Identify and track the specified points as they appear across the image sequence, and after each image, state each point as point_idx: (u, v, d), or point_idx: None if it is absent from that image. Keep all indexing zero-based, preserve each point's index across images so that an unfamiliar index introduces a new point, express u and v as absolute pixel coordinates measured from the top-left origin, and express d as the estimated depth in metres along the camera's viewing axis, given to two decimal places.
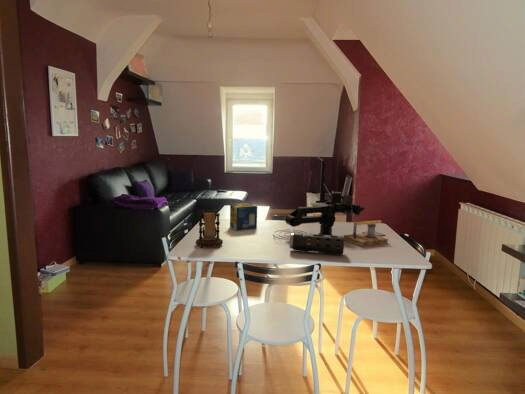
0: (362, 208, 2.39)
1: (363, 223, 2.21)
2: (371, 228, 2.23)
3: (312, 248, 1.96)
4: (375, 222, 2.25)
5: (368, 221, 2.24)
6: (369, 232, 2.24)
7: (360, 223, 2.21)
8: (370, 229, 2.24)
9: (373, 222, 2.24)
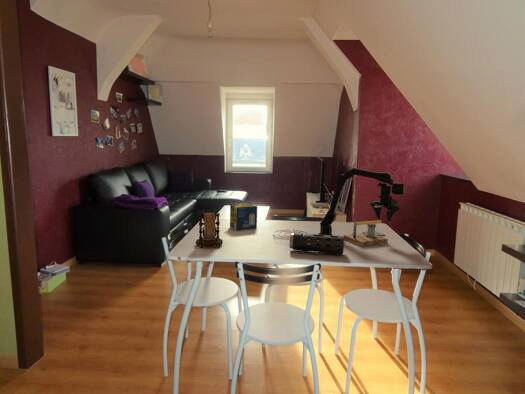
0: (390, 218, 2.16)
1: (363, 223, 2.21)
2: (371, 228, 2.23)
3: (312, 248, 1.96)
4: (375, 222, 2.25)
5: (368, 221, 2.24)
6: (369, 232, 2.24)
7: (360, 223, 2.21)
8: (370, 229, 2.24)
9: (373, 222, 2.24)
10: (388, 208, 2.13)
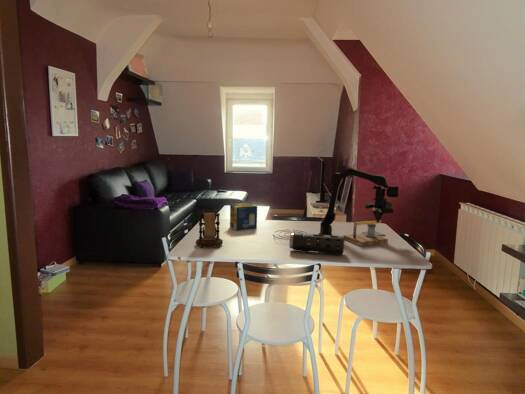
0: (379, 218, 2.24)
1: (363, 223, 2.22)
2: (371, 228, 2.23)
3: (312, 248, 1.96)
4: (375, 222, 2.25)
5: (368, 221, 2.24)
6: (369, 232, 2.24)
7: (360, 223, 2.21)
8: (370, 229, 2.24)
9: (373, 222, 2.25)
10: (382, 210, 2.17)
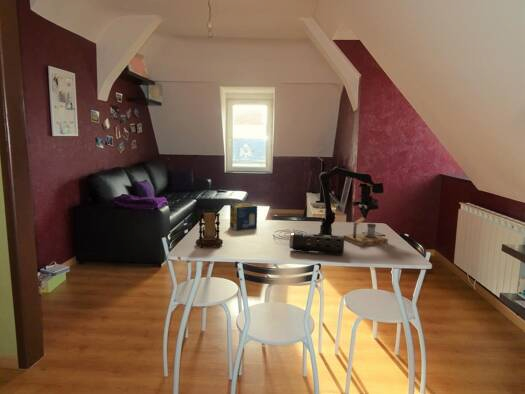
0: (366, 215, 2.32)
1: (359, 222, 2.24)
2: (371, 228, 2.23)
3: (312, 248, 1.96)
4: (362, 219, 2.32)
5: (359, 219, 2.28)
6: (369, 232, 2.24)
7: (358, 222, 2.22)
8: (370, 229, 2.24)
9: (362, 219, 2.31)
10: (368, 207, 2.25)
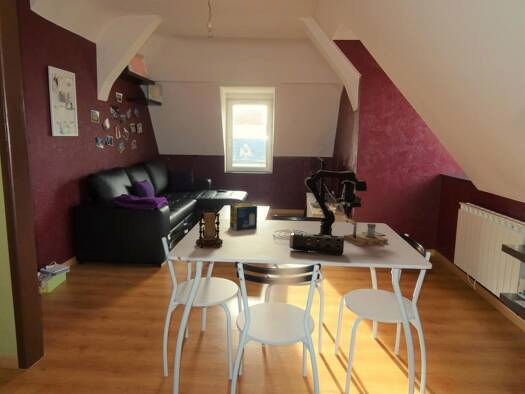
0: (349, 212, 2.35)
1: None
2: (371, 228, 2.23)
3: (312, 248, 1.96)
4: None
5: (349, 219, 2.29)
6: (369, 232, 2.24)
7: None
8: (370, 229, 2.24)
9: None
10: (350, 204, 2.27)
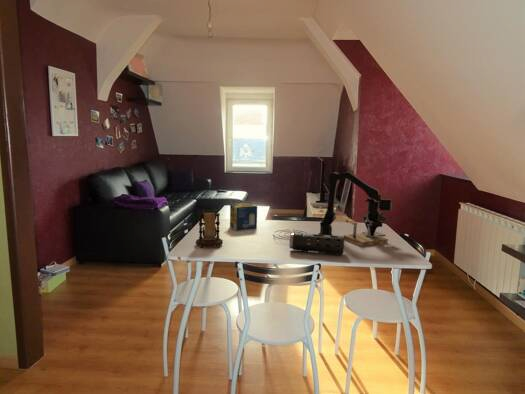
0: (373, 232, 2.23)
1: None
2: None
3: (312, 248, 1.96)
4: None
5: (349, 219, 2.29)
6: (369, 232, 2.24)
7: None
8: None
9: None
10: (370, 223, 2.18)
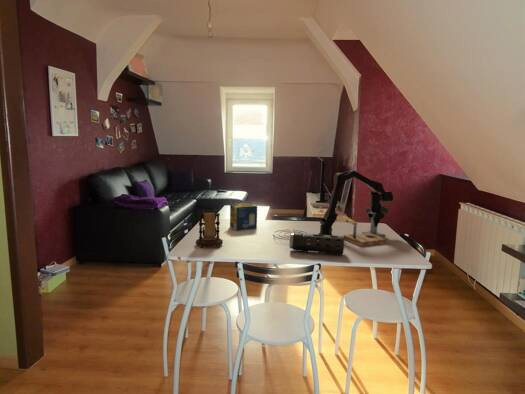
0: (377, 223, 2.36)
1: None
2: None
3: (312, 248, 1.96)
4: None
5: (349, 219, 2.29)
6: (372, 225, 2.40)
7: None
8: (373, 222, 2.39)
9: None
10: (373, 214, 2.33)
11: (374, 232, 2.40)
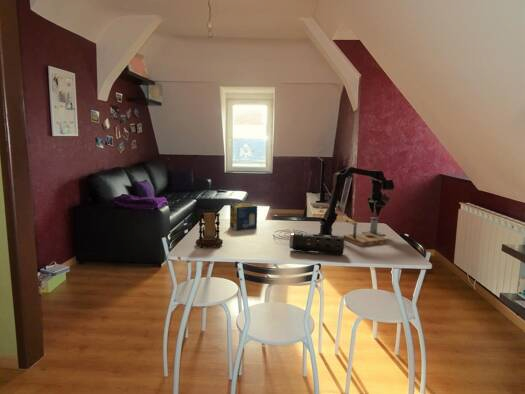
0: (378, 212, 2.34)
1: None
2: (374, 221, 2.39)
3: (312, 248, 1.96)
4: None
5: (349, 219, 2.29)
6: (372, 225, 2.40)
7: None
8: (373, 222, 2.39)
9: None
10: (374, 203, 2.32)
11: (374, 232, 2.40)
